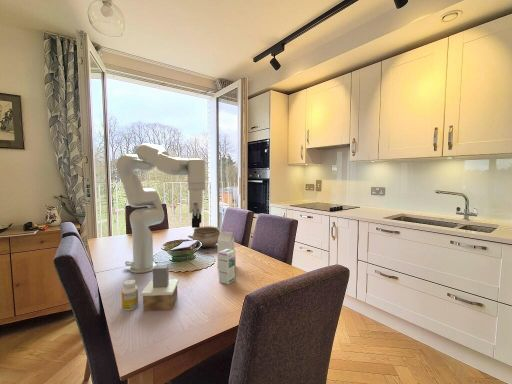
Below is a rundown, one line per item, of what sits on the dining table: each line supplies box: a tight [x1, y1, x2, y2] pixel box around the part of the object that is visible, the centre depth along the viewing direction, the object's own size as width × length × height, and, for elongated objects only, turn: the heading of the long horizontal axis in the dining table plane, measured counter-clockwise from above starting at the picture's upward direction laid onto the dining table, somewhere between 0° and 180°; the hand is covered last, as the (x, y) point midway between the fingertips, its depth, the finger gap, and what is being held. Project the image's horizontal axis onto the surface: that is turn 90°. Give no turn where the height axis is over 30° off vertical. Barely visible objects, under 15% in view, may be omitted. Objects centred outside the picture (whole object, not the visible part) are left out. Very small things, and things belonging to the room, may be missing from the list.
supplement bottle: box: [121, 279, 139, 311], centre depth 92 cm, size 5×5×10 cm
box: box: [142, 285, 178, 312], centre depth 95 cm, size 10×10×6 cm
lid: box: [140, 264, 180, 297], centre depth 94 cm, size 11×11×8 cm
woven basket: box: [187, 225, 221, 249], centre depth 168 cm, size 25×19×12 cm
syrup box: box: [218, 249, 237, 285], centre depth 115 cm, size 6×6×14 cm
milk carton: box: [217, 231, 235, 269], centre depth 132 cm, size 7×7×19 cm
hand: (196, 225), depth 110 cm, fingers open, 9 cm apart
